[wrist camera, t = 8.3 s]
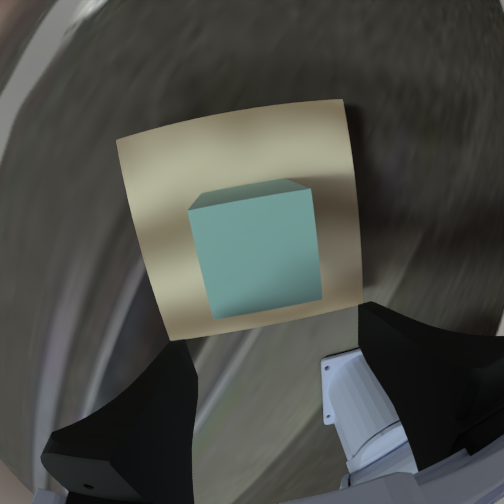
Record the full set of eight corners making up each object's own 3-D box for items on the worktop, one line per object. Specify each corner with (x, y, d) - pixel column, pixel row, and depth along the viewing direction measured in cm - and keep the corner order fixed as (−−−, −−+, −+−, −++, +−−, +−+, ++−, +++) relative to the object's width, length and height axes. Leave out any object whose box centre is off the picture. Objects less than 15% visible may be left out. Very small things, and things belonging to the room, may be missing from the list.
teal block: (295, 257, 19) (322, 299, 13) (217, 271, 19) (213, 319, 13) (284, 178, 18) (310, 188, 12) (201, 193, 17) (187, 210, 12)
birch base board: (350, 289, 23) (362, 303, 21) (175, 323, 23) (170, 341, 20) (329, 105, 19) (342, 99, 16) (128, 141, 18) (115, 140, 16)
